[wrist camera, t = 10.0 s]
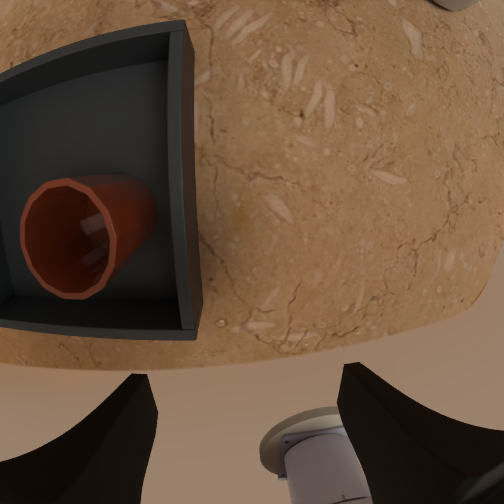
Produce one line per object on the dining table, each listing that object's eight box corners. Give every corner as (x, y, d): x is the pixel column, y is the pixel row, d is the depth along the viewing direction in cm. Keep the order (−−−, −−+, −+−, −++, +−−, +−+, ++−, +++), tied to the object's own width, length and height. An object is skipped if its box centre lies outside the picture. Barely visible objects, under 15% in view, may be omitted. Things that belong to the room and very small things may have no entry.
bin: (203, 303, 19) (196, 340, 15) (16, 300, 18) (-15, 324, 14) (194, 51, 15) (184, 18, 10) (-2, 102, 14) (-39, 95, 10)
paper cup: (162, 252, 18) (126, 300, 11) (90, 255, 17) (31, 297, 11) (157, 169, 16) (111, 171, 10) (82, 178, 16) (13, 188, 9)
